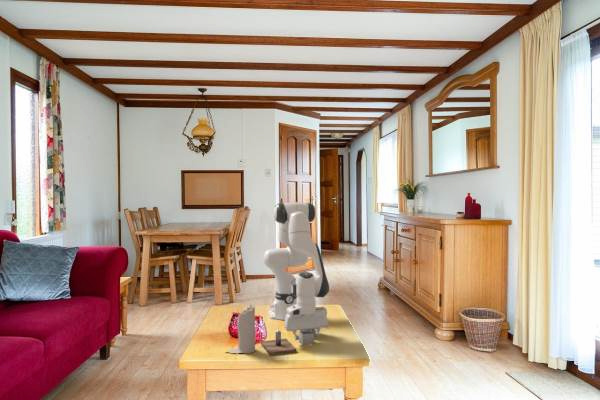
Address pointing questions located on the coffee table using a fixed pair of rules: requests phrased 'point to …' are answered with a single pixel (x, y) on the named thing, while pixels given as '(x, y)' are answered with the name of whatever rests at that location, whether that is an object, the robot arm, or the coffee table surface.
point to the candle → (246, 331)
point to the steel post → (278, 338)
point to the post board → (278, 347)
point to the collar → (306, 338)
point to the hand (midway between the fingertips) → (306, 338)
